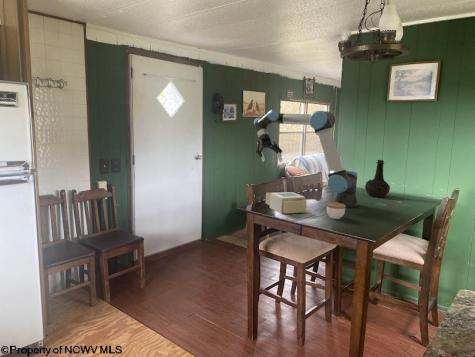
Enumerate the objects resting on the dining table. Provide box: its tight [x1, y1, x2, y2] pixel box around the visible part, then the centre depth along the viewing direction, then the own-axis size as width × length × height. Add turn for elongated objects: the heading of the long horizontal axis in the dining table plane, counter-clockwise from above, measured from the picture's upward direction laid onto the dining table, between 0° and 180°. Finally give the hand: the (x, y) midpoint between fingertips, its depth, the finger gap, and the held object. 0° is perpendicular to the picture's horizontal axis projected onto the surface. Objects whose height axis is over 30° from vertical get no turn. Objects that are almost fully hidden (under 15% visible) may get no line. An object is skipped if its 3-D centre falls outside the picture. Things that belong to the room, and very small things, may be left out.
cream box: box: [269, 191, 306, 214], centre depth 223 cm, size 14×16×10 cm
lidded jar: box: [326, 202, 347, 220], centre depth 210 cm, size 11×11×9 cm
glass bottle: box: [364, 159, 391, 198], centre depth 277 cm, size 18×18×28 cm
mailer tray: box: [265, 191, 308, 214], centre depth 225 cm, size 26×14×7 cm, turn 23°
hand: (272, 160), depth 248 cm, fingers open, 13 cm apart
